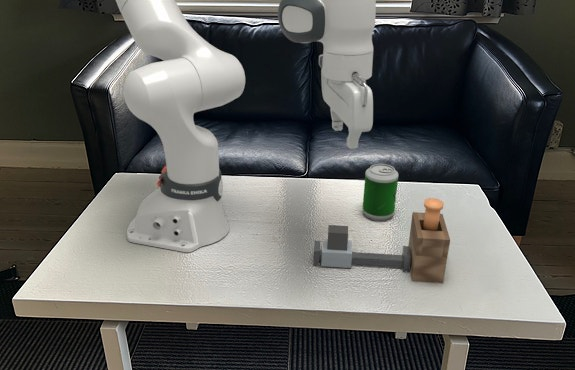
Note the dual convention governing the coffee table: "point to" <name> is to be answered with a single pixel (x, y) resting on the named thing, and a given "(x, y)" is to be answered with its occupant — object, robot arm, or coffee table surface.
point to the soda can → (380, 192)
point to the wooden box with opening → (428, 250)
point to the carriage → (337, 247)
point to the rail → (372, 259)
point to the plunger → (432, 214)
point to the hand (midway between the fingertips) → (344, 138)
